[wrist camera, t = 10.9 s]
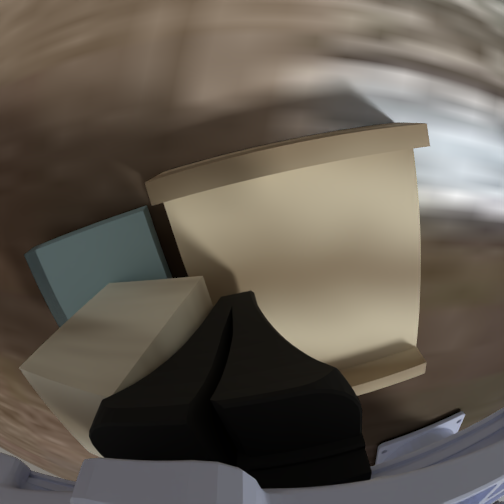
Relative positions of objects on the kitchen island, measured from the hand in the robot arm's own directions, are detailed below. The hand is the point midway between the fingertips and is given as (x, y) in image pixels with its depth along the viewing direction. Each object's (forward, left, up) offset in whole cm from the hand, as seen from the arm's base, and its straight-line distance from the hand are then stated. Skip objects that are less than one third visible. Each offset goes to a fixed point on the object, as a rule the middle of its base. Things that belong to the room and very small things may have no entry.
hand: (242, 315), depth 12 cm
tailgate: (0, +2, -2) cm, 3 cm away
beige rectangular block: (0, +3, 0) cm, 3 cm away
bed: (0, -3, -2) cm, 4 cm away
